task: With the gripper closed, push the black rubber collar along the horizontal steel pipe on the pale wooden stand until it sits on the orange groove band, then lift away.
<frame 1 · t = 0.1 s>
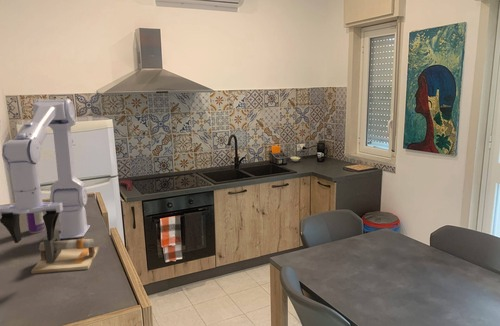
hand: (34, 240, 92), 10 cm above the table, tool pointing down, fingers open, 7 cm apart
collar: (52, 245, 102), point 5 cm above the table, slide at 0.0 cm
pipe stand: (64, 260, 103), on the table
container: (37, 231, 124), on the table
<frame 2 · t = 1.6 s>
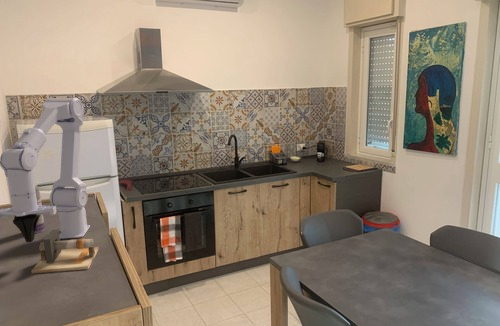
hand: (30, 240, 100), 6 cm above the table, tool pointing down, fingers closed
nothing on the table moved.
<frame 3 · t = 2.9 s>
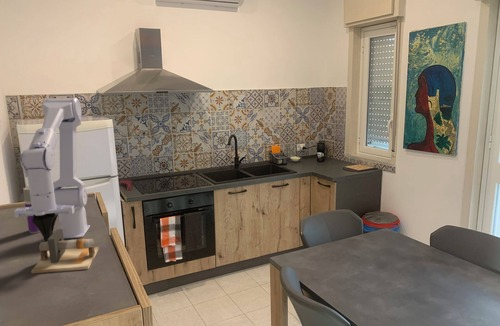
hand: (48, 239, 101), 6 cm above the table, tool pointing down, fingers closed
collar: (56, 245, 102), point 5 cm above the table, slide at 1.0 cm, touching gripper
everything else where it was.
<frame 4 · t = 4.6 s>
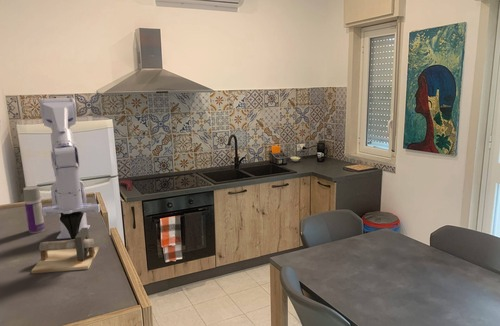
hand: (74, 237, 102), 6 cm above the table, tool pointing down, fingers closed
collar: (82, 243, 103), point 5 cm above the table, slide at 7.9 cm, touching gripper
everything else where it was.
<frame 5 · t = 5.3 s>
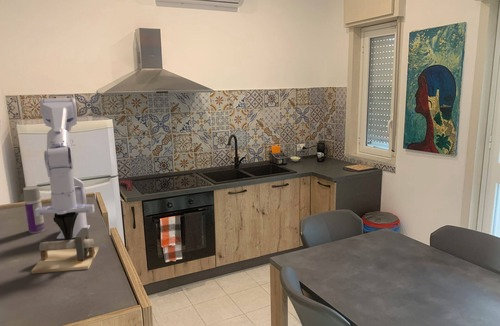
hand: (69, 238, 102), 6 cm above the table, tool pointing down, fingers closed
collar: (82, 243, 103), point 5 cm above the table, slide at 7.9 cm
everything else where it was.
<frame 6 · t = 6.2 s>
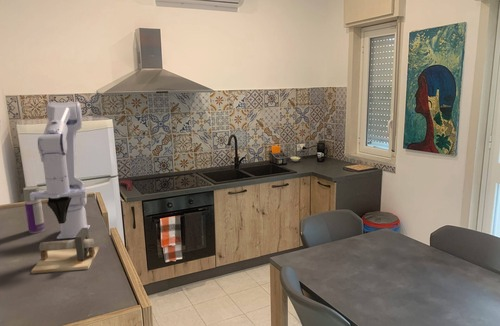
hand: (62, 222, 106), 9 cm above the table, tool pointing down, fingers closed
nothing on the table moved.
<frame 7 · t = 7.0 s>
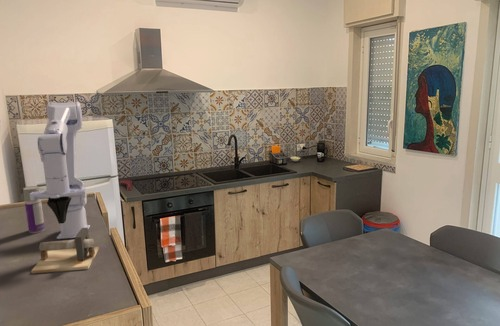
hand: (62, 222, 106), 9 cm above the table, tool pointing down, fingers closed
nothing on the table moved.
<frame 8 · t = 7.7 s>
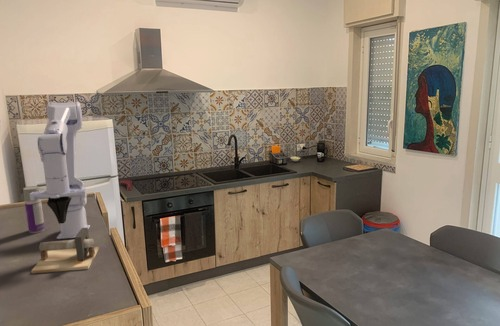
hand: (62, 222, 106), 9 cm above the table, tool pointing down, fingers closed
nothing on the table moved.
at the end: collar slide at 7.9 cm; collar 0.2 cm from the target spot, resting on pipe stand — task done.
